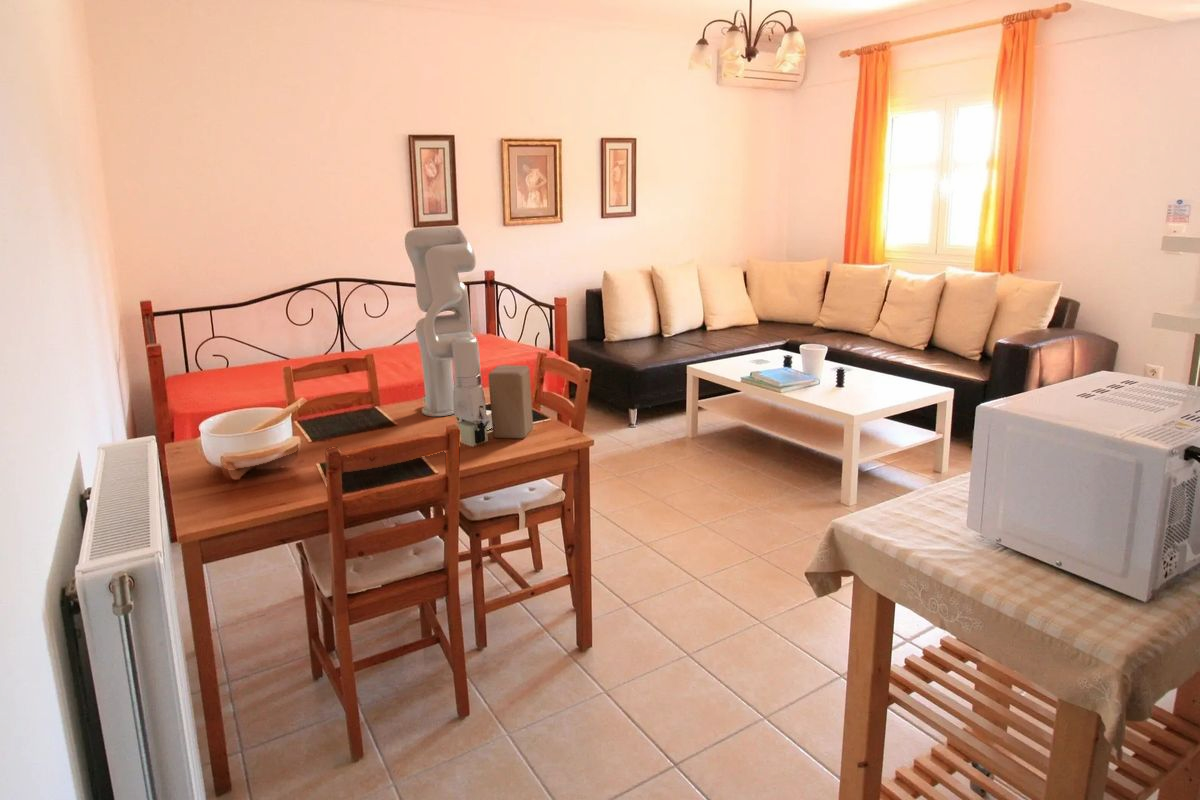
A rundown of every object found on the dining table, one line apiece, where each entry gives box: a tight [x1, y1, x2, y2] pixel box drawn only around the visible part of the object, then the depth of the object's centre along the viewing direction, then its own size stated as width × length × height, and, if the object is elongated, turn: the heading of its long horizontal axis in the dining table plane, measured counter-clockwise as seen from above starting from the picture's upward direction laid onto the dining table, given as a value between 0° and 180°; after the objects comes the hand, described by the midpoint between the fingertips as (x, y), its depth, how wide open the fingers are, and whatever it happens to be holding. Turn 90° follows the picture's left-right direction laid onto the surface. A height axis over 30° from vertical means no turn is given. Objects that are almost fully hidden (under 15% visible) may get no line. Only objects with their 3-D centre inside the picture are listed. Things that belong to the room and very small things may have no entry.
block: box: [487, 364, 534, 439], centre depth 223 cm, size 10×10×20 cm
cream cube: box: [478, 409, 492, 431], centre depth 231 cm, size 5×5×5 cm
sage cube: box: [456, 420, 489, 447], centre depth 219 cm, size 6×6×6 cm
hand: (473, 439), depth 220 cm, fingers closed on sage cube, 6 cm apart
